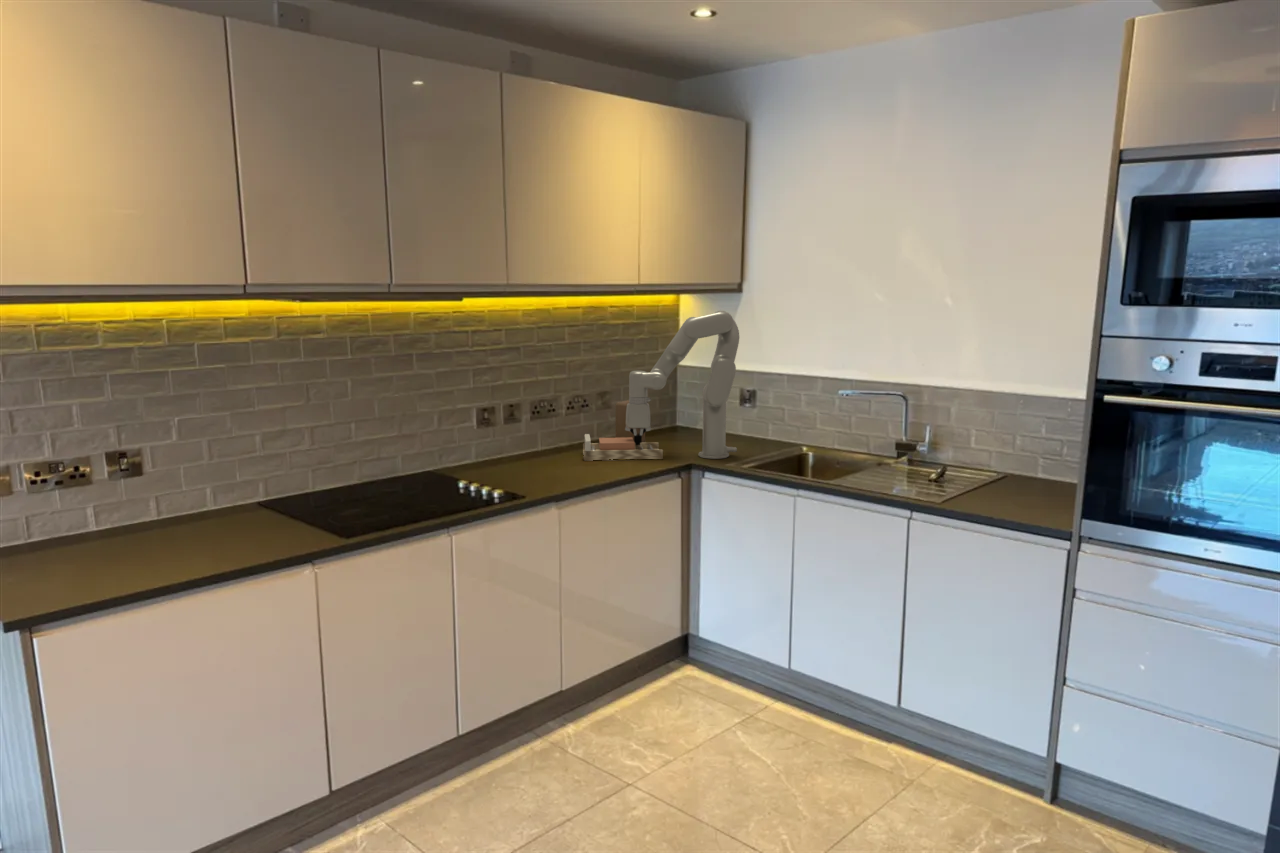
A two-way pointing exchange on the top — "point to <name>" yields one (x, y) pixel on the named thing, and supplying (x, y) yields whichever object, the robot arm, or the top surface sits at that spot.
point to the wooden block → (624, 422)
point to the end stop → (587, 443)
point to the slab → (617, 443)
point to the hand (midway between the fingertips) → (637, 444)
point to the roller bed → (624, 453)
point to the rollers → (638, 447)
